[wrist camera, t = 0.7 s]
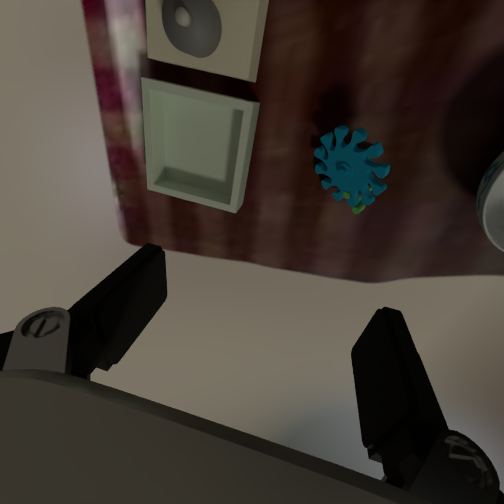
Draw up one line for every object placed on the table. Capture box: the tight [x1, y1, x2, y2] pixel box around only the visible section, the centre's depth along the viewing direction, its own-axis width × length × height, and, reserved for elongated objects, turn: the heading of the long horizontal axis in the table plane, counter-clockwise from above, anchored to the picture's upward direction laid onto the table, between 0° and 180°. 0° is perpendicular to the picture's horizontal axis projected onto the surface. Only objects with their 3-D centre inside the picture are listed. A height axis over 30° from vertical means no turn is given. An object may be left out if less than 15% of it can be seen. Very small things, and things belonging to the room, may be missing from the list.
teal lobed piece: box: [314, 125, 390, 214], centre depth 30 cm, size 11×6×10 cm
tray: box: [141, 77, 260, 213], centre depth 34 cm, size 14×14×4 cm
